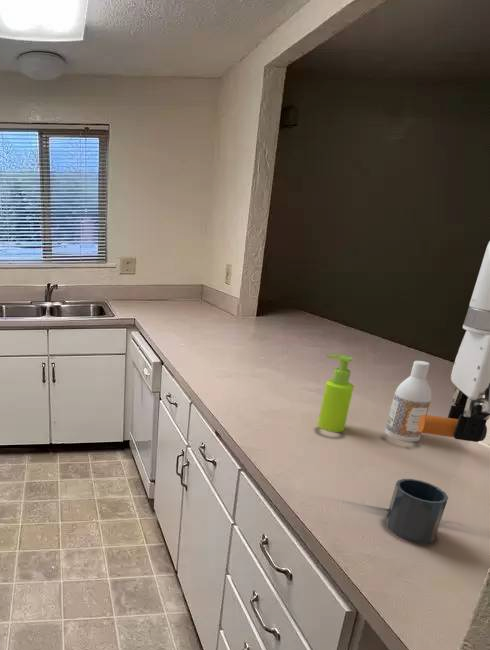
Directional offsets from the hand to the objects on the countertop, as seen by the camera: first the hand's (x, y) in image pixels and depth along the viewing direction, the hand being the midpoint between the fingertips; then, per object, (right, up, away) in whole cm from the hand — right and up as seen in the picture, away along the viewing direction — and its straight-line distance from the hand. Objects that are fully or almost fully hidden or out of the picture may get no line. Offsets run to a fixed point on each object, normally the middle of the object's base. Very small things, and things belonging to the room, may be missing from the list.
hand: (461, 433), depth 69 cm
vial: (-1, -1, +1) cm, 2 cm away
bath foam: (+17, -6, +37) cm, 41 cm away
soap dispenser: (+2, -5, +42) cm, 42 cm away
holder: (-4, -17, +6) cm, 19 cm away
